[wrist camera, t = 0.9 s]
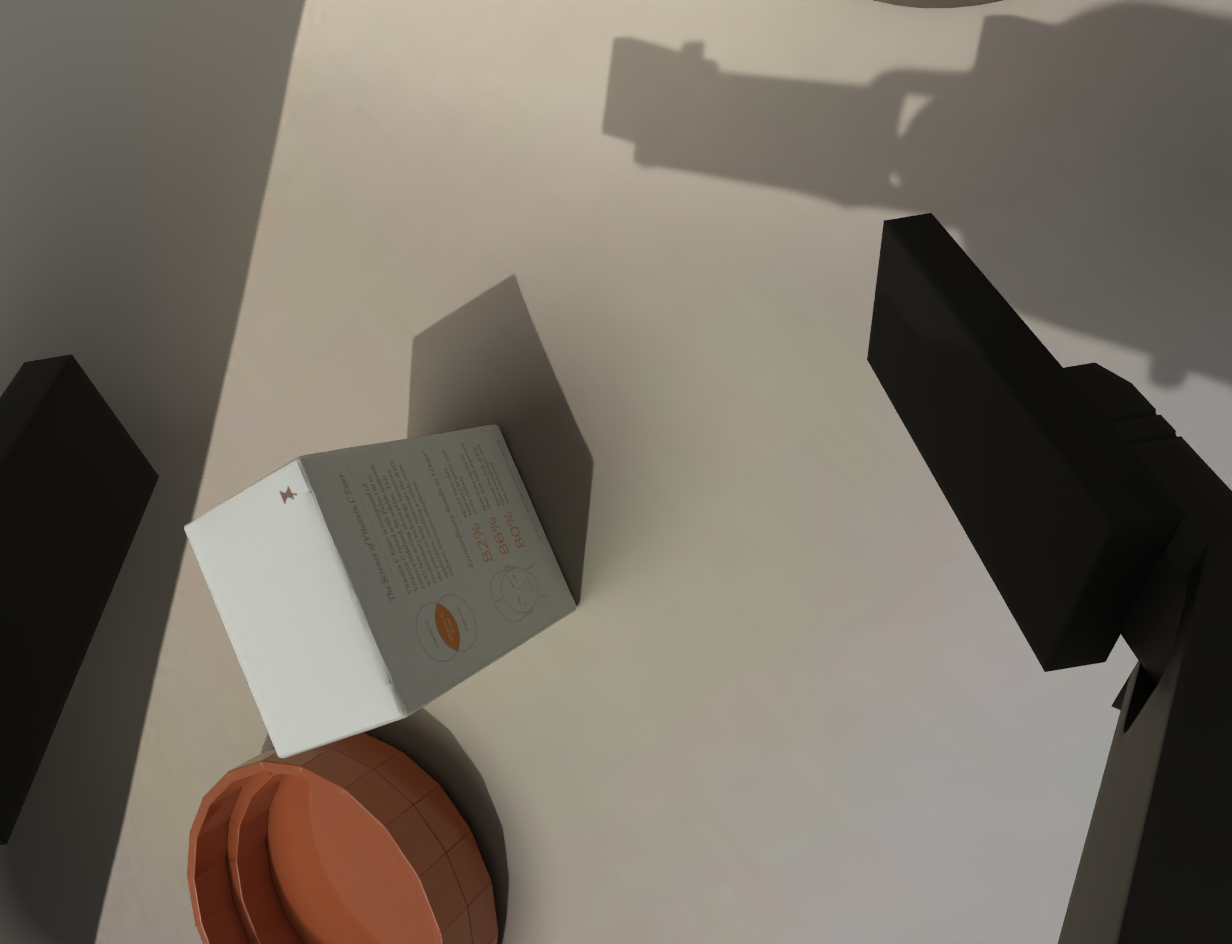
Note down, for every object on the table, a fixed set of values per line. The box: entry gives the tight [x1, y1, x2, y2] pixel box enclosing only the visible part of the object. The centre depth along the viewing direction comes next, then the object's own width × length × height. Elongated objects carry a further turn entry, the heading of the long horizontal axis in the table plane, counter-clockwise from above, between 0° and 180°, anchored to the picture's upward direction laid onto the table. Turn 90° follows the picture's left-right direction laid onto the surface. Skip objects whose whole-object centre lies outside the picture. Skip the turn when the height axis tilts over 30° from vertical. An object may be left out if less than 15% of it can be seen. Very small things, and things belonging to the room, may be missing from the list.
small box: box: [184, 425, 576, 758], centre depth 28 cm, size 8×6×10 cm
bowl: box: [187, 732, 498, 944], centre depth 37 cm, size 15×15×4 cm
